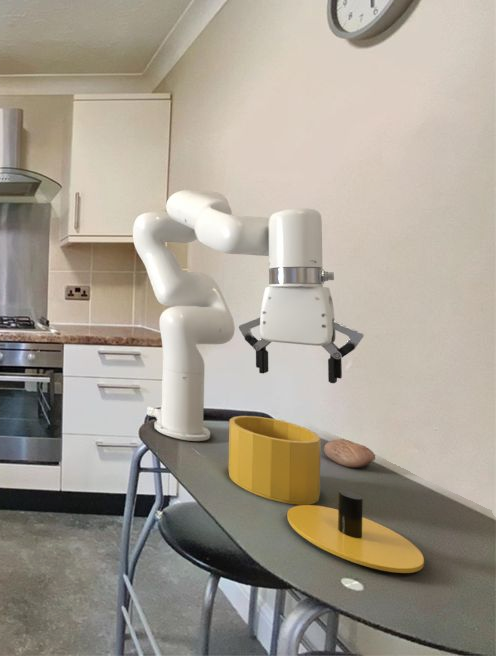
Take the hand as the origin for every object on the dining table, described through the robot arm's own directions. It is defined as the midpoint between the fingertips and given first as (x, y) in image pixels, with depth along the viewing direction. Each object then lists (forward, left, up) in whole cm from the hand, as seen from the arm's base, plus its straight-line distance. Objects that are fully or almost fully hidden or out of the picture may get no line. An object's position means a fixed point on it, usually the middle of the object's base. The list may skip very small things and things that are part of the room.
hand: (296, 377), depth 70 cm
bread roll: (+4, +30, -22) cm, 37 cm away
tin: (-4, +4, -21) cm, 22 cm away
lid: (+8, -7, -21) cm, 23 cm away
